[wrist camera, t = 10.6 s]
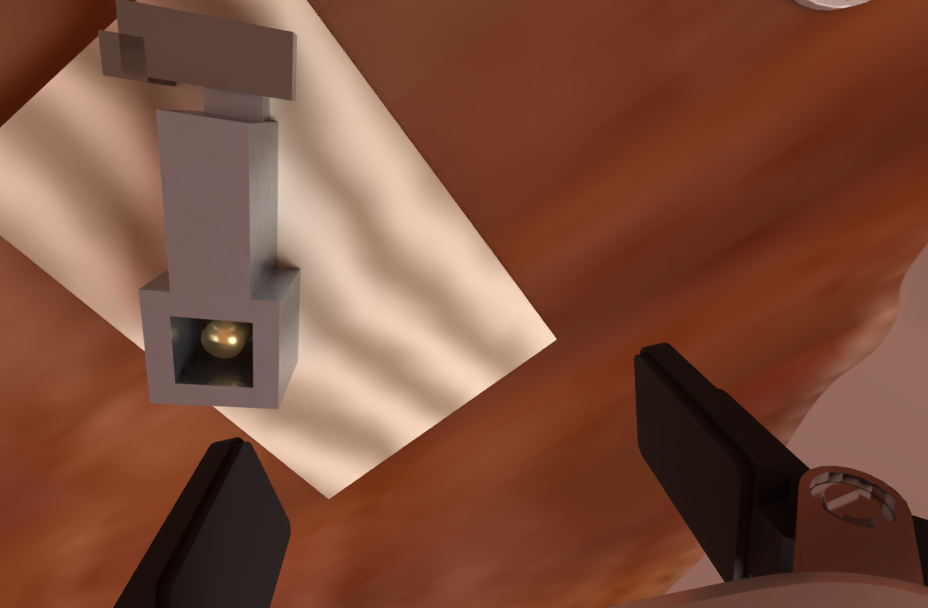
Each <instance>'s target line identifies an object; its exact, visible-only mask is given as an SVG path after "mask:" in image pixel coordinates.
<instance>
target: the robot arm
mask: <svg viewBox="0 0 928 608" xmlns="http://www.w3.org/2000/svg"><path fill="white" fill-rule="evenodd" d="M794 1H796V2H797V3H799V4H801V5H804V6H806V7H809V8H812V9H817V10H829V11H830V10H836V9H842V8H848V7H851V6H855V5H858V4H862V3H865V2H868V1H870V0H794ZM634 367H635V389H636V412H637V434H638V445H639V449H640V452H641V454H642V456H643V458H644V459H645V461H646V462H647V464H648V465H649V467H650V469H651V470H652V472H653V473H654V475H655V476H656V478H657V479H658V481H659V482H660V484H661V485H662V487H663V488H664V490H665V492H666V493H667V495H668V496H669V498H670V499H671V501H672V502H673V504H674V505H675V507H676V508H677V510H678V511H679V513H680V514H681V516H682V518H683V519H684V521H685V522H686V524H687V525H688V527H689V528H690V530H691V531H692V533H693V534H694V536H695V537H696V539H697V541H698V542H699V544H700V545H701V547H702V548H703V550H704V551H705V553H706V554H707V556H708V557H709V559H710V560H711V562H712V564H713V565H714V567H715V568H716V570H717V571H718V573H719V574H720V576H721V577H722V579H723V580H724V582H725V583H720V584H715V585H710V586H705V587H700V588H695V589H691V590H685V591H681V592H676V593H671V594H666V595H661V596H656V597H652V598H647V599H643V600H638V601H634V602H629V603H625V604H620V605H616V606H611V607H607V608H928V520H926V519H923V518H920V517H916V516H913V515H912V514H911V511H910V509H909V506H908V504H907V502H906V501H905V500H904V499H903V497H902V496H901V495H900V494H899V493H898V492H897V491H896V490H895V489H893V488H892V487H890V486H889V485H888V484H886V483H885V482H884V481H882V480H880V479H878V478H876V477H874V476H872V475H870V474H868V473H865V472H862V471H858V470H855V469H852V468H847V467H840V466H820V467H816V468H813V469H809V468H808V467H807V466H806V465H805V464H804V463H802V461H801V460H799V459H798V458H797V457H796V456H795V455H794V454H793V453H792V452H791V451H789V449H787V448H786V447H785V446H784V445H783V444H782V443H781V442H780V441H779V440H778V439H777V438H775V437H774V436H773V435H772V434H771V433H770V432H769V431H768V430H767V429H766V428H765V427H763V426H762V425H761V424H760V423H759V422H758V421H757V420H756V419H755V418H754V417H753V416H752V415H750V414H749V413H748V412H747V411H746V410H745V409H744V408H743V407H742V406H741V405H740V404H738V403H737V402H736V401H735V400H734V399H733V398H732V397H731V396H730V395H729V394H728V393H726V392H725V391H723V390H722V389H718V388H716V387H715V386H714V385H713V384H711V383H710V382H709V381H708V380H707V379H706V378H705V377H704V376H703V375H702V374H701V373H700V372H699V371H698V370H696V369H695V368H694V367H693V366H692V365H691V364H690V363H689V362H688V361H687V360H686V359H685V358H684V357H683V356H682V355H680V354H679V353H678V352H677V351H676V350H675V349H674V348H673V347H672V346H671V345H670V344H668V343H660V344H656V345H651V346H647V347H643V348H642V349H641V351H640V354H639V355H636V356H635V358H634ZM290 531H291V529H290V522H289V519H288V517H287V515H286V513H285V511H284V509H283V507H282V505H281V503H280V501H279V499H278V497H277V495H276V493H275V491H274V489H273V487H272V485H271V483H270V481H269V479H268V477H267V475H266V472H265V470H264V468H263V466H262V464H261V462H260V460H259V458H258V456H257V454H256V452H255V450H254V448H253V446H252V445H251V443H250V442H244V441H243V440H242V439H241V438H238V437H236V438H232V439H227V440H223V441H218V442H215V443H212V444H211V445H210V447H209V448H208V450H207V452H206V453H205V455H204V457H203V458H202V460H201V462H200V463H199V465H198V467H197V468H196V470H195V472H194V473H193V475H192V477H191V478H190V480H189V482H188V483H187V485H186V487H185V488H184V490H183V492H182V493H181V495H180V497H179V498H178V500H177V502H176V503H175V505H174V507H173V509H172V510H171V512H170V514H169V515H168V517H167V519H166V520H165V522H164V524H163V525H162V527H161V529H160V530H159V532H158V534H157V535H156V537H155V539H154V540H153V542H152V544H151V545H150V547H149V549H148V550H147V552H146V554H145V555H144V557H143V559H142V560H141V562H140V564H139V565H138V567H137V569H136V570H135V572H134V574H133V575H132V577H131V579H130V581H129V582H128V584H127V586H126V587H125V589H124V591H123V592H122V594H121V596H120V597H119V599H118V601H117V602H116V604H115V606H114V607H113V608H270V605H271V601H272V598H273V594H274V591H275V587H276V584H277V580H278V577H279V573H280V570H281V566H282V563H283V559H284V556H285V552H286V549H287V545H288V542H289V538H290Z"/></svg>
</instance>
